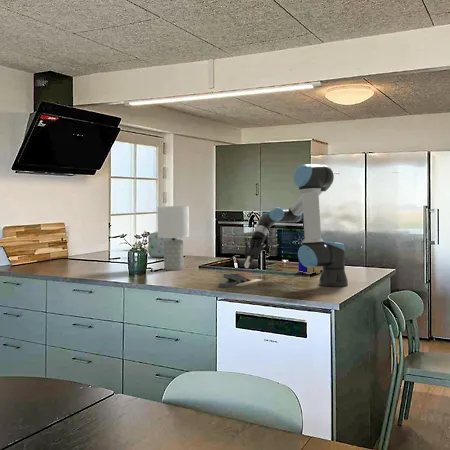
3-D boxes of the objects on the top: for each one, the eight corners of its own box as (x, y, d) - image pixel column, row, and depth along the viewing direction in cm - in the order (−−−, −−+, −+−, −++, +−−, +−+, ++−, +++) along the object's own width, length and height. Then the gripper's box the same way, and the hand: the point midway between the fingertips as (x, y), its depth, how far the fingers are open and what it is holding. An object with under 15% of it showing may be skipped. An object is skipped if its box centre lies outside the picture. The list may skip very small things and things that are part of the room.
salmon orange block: (244, 276, 300) (235, 272, 292) (251, 277, 297) (243, 272, 289) (243, 279, 299) (235, 275, 291) (251, 280, 297) (243, 276, 289)
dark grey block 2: (239, 277, 295) (230, 273, 287) (247, 278, 292) (238, 274, 284) (238, 281, 294) (229, 276, 286) (246, 281, 292) (237, 277, 284)
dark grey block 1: (228, 280, 285) (219, 283, 277) (236, 281, 283) (227, 283, 274) (228, 283, 286) (219, 286, 277) (236, 284, 283) (227, 287, 274)
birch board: (263, 280, 300) (263, 279, 300) (241, 287, 279) (241, 286, 278) (242, 278, 307) (242, 277, 307) (219, 285, 286) (219, 283, 286)
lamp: (189, 266, 361) (189, 206, 358) (188, 271, 340) (188, 206, 338) (159, 267, 360) (158, 206, 358) (156, 271, 339) (155, 206, 337)
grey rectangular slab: (233, 278, 289) (224, 274, 281) (241, 279, 287) (232, 274, 279) (232, 282, 289) (223, 277, 281) (240, 282, 286) (231, 278, 278)
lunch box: (183, 256, 420) (183, 230, 419) (178, 258, 410) (178, 231, 409) (152, 256, 428) (152, 229, 427) (147, 257, 418) (146, 230, 417)
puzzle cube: (298, 272, 331) (298, 256, 331) (311, 271, 335) (311, 255, 335) (306, 274, 322) (306, 258, 321) (320, 273, 326) (320, 257, 325)
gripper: (271, 239, 308) (258, 271, 295) (252, 238, 315) (238, 269, 302) (267, 231, 304) (254, 263, 290) (247, 230, 310) (233, 261, 297)
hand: (246, 266), depth 296 cm, fingers closed
